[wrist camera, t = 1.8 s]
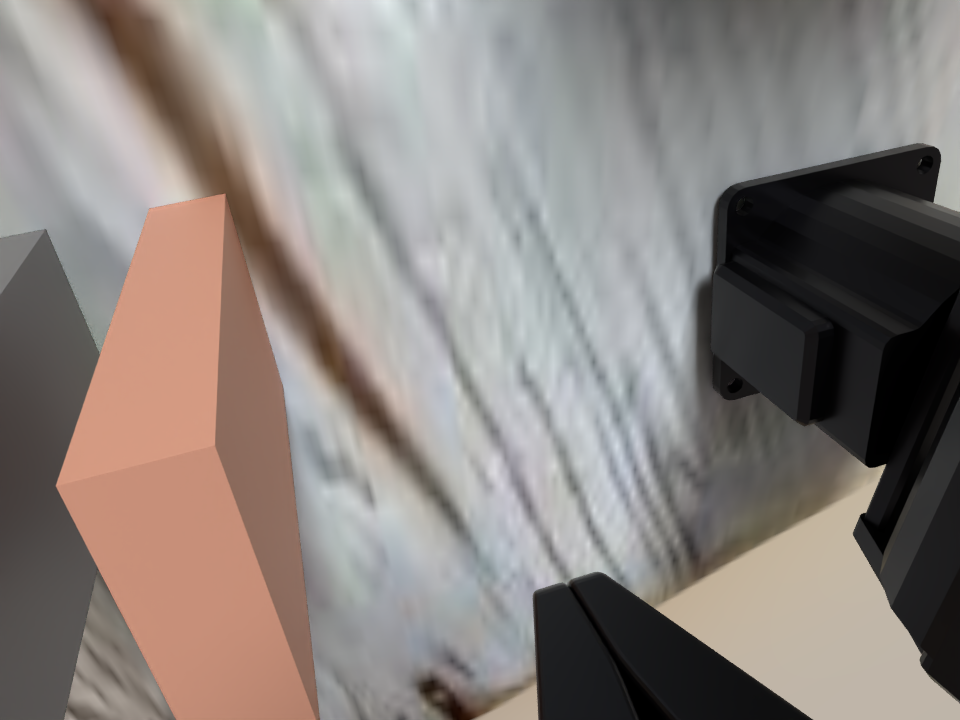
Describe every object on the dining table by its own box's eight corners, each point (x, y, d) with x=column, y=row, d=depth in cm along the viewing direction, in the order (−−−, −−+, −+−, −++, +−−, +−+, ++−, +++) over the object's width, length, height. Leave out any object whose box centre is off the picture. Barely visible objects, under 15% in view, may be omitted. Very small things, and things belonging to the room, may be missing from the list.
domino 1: (225, 193, 17) (215, 444, 8) (282, 386, 19) (321, 734, 11) (149, 208, 16) (55, 486, 8) (218, 402, 19) (204, 773, 10)
